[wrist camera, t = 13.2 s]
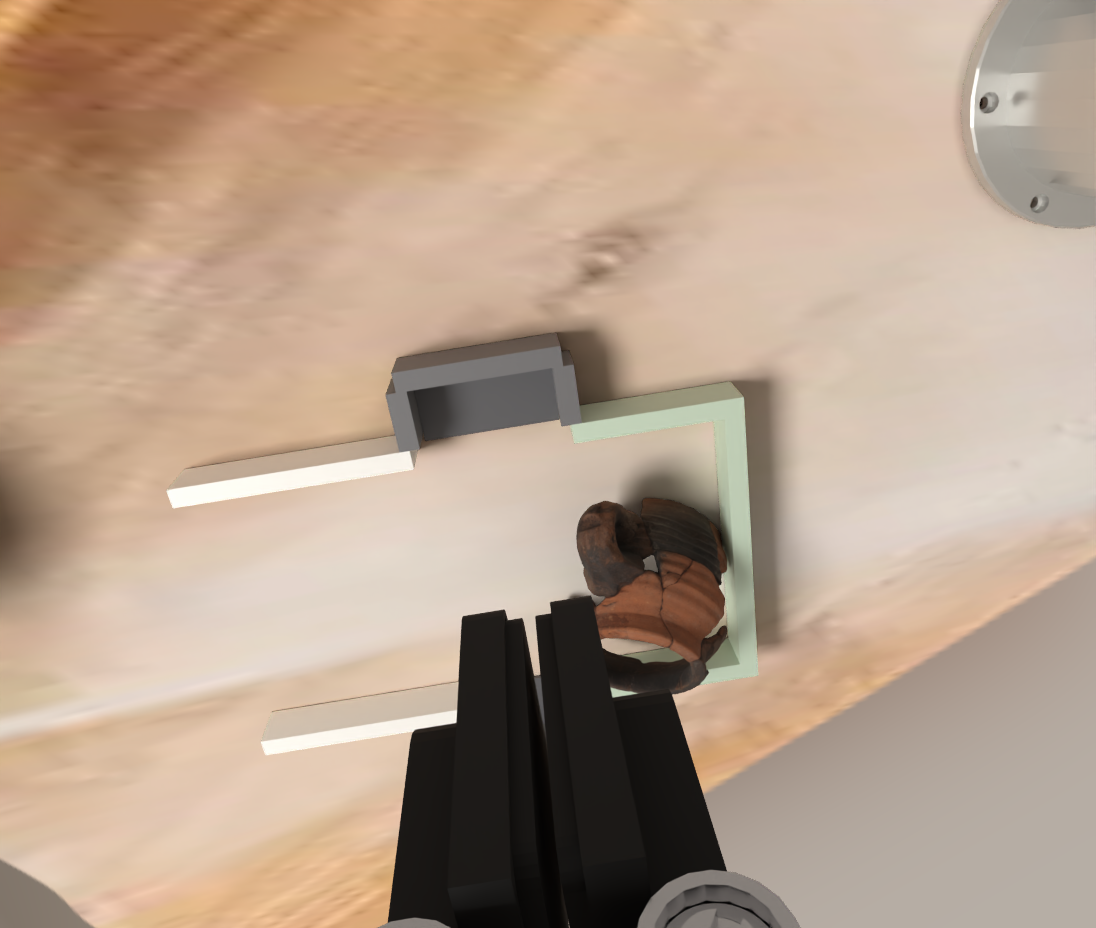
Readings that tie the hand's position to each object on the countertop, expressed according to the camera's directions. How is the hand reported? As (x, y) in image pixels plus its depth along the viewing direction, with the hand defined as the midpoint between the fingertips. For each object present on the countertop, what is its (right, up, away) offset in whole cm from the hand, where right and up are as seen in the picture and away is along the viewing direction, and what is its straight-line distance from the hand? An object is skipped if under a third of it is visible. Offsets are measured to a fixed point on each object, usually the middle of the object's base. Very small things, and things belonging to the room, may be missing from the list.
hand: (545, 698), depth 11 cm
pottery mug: (+5, -2, +36) cm, 36 cm away
